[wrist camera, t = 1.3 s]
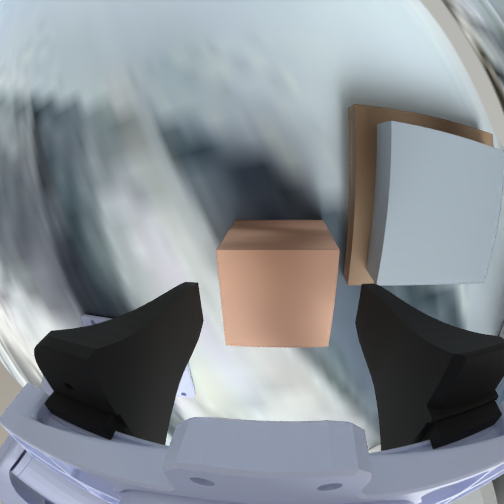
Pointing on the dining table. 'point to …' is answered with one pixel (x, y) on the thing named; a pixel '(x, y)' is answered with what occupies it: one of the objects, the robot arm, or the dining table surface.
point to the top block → (433, 207)
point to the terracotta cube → (278, 283)
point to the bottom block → (365, 175)
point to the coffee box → (502, 332)
